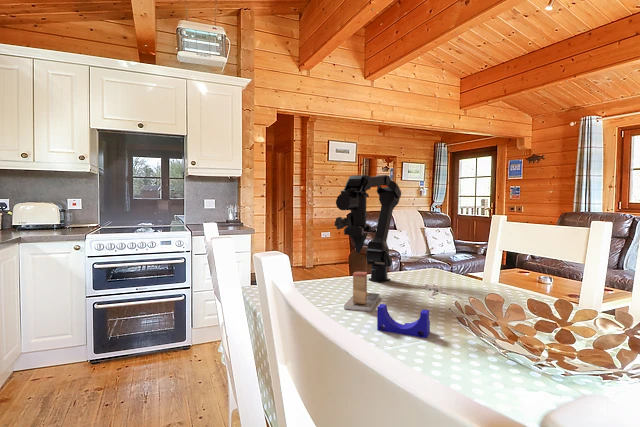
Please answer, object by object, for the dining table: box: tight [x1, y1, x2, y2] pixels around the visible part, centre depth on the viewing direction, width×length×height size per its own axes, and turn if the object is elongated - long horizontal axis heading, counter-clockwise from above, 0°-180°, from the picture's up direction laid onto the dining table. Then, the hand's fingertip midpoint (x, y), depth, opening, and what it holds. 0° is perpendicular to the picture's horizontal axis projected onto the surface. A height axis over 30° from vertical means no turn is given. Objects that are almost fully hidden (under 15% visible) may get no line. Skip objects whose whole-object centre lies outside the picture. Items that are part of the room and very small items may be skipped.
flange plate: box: [343, 292, 381, 313], centre depth 114 cm, size 16×8×2 cm, turn 162°
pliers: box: [424, 283, 462, 300], centre depth 126 cm, size 10×2×15 cm
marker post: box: [352, 271, 368, 304], centre depth 110 cm, size 4×4×9 cm
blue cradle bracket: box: [376, 303, 431, 339], centre depth 90 cm, size 12×4×6 cm, turn 64°
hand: (358, 252), depth 132 cm, fingers closed
